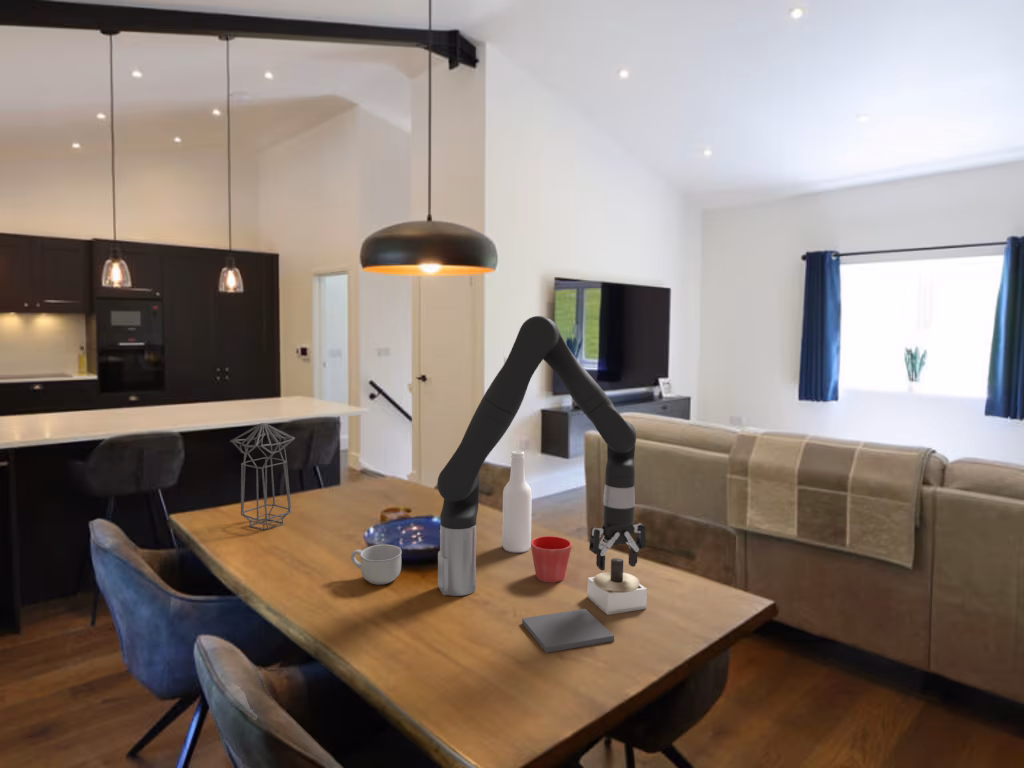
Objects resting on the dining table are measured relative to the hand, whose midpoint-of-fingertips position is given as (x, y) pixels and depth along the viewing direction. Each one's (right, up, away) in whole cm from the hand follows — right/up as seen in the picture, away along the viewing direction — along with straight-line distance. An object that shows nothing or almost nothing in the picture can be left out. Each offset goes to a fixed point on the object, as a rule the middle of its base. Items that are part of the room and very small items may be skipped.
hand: (616, 567), depth 156 cm
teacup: (-62, -7, +13) cm, 64 cm away
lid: (0, -4, 0) cm, 4 cm away
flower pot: (-15, -8, +16) cm, 24 cm away
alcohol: (-24, -6, +39) cm, 46 cm away
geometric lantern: (-109, -3, +57) cm, 123 cm away
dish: (0, -9, +1) cm, 9 cm away
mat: (-14, -10, -15) cm, 22 cm away
